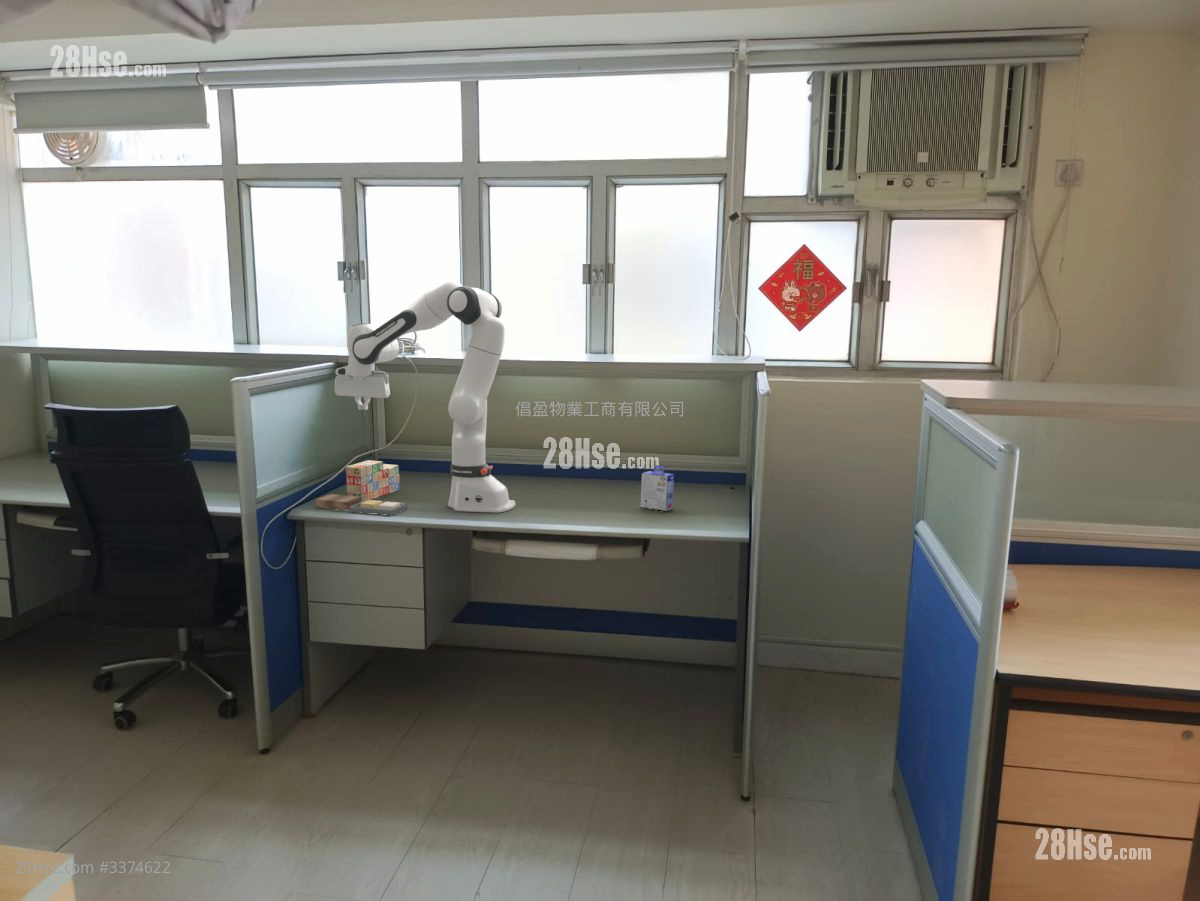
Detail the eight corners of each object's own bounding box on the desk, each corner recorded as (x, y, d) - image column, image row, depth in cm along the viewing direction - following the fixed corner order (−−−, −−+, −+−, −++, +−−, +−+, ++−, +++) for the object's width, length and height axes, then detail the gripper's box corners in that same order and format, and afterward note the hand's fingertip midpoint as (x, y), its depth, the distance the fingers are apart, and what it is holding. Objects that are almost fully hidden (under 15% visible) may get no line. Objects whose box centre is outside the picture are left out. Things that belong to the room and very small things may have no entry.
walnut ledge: (362, 505, 269) (361, 496, 269) (348, 511, 262) (348, 502, 261) (330, 502, 272) (329, 493, 272) (316, 508, 265) (315, 499, 264)
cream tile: (386, 501, 264) (386, 507, 265) (378, 505, 260) (378, 511, 260) (400, 502, 263) (400, 508, 263) (392, 506, 258) (392, 512, 259)
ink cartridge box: (673, 509, 272) (675, 467, 269) (666, 512, 267) (667, 469, 264) (647, 505, 277) (648, 463, 274) (640, 508, 272) (641, 466, 270)
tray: (406, 508, 266) (406, 503, 266) (391, 516, 256) (391, 510, 256) (366, 505, 270) (366, 499, 269) (349, 512, 260) (349, 506, 260)
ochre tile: (382, 507, 265) (382, 501, 265) (374, 510, 261) (374, 504, 260) (369, 505, 267) (368, 499, 266) (360, 509, 262) (360, 503, 261)
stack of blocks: (385, 488, 294) (384, 455, 292) (400, 490, 292) (399, 456, 290) (346, 501, 275) (345, 465, 273) (361, 503, 273) (360, 467, 270)
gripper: (392, 370, 284) (394, 409, 287) (341, 368, 289) (343, 406, 292) (383, 372, 278) (384, 412, 281) (331, 369, 283) (332, 409, 286)
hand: (363, 409), depth 286 cm, fingers closed
